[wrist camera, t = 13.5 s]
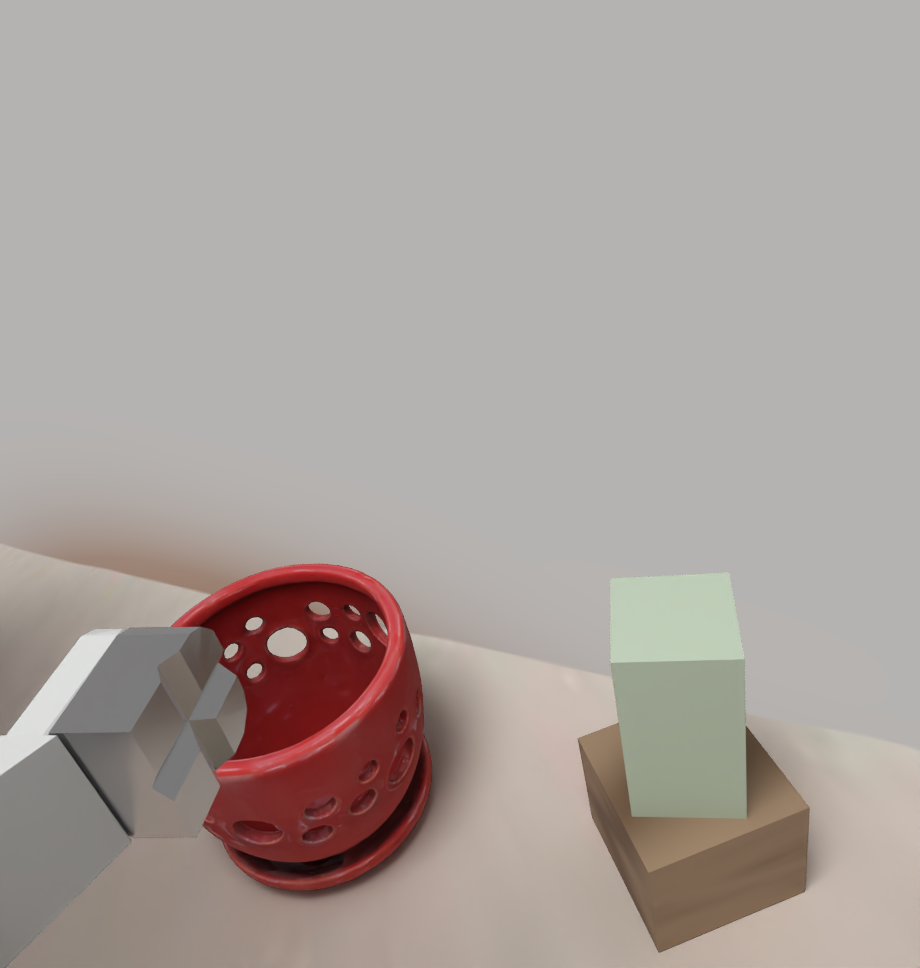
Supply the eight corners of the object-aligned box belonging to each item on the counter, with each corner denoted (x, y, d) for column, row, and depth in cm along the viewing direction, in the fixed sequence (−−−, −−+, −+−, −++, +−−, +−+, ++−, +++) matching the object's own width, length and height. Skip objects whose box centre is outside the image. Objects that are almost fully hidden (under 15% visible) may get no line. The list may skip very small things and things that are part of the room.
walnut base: (592, 817, 40) (577, 738, 37) (718, 767, 41) (715, 686, 38) (658, 952, 34) (648, 872, 31) (805, 891, 35) (809, 807, 32)
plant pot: (168, 877, 42) (63, 725, 36) (310, 691, 52) (246, 544, 45) (376, 970, 36) (294, 807, 30) (494, 740, 45) (451, 577, 39)
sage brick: (746, 818, 32) (744, 659, 27) (631, 816, 33) (610, 662, 28) (733, 727, 36) (729, 572, 31) (629, 728, 37) (610, 578, 32)
